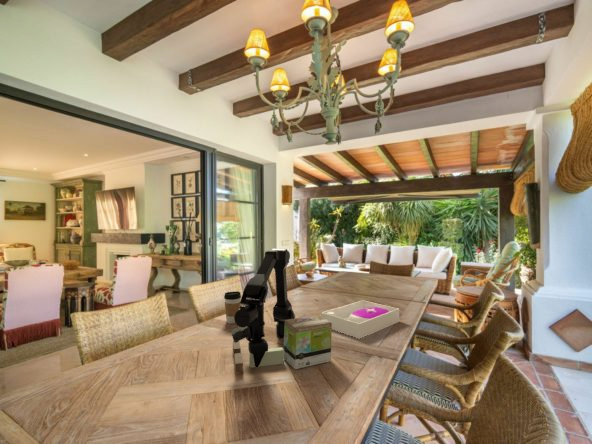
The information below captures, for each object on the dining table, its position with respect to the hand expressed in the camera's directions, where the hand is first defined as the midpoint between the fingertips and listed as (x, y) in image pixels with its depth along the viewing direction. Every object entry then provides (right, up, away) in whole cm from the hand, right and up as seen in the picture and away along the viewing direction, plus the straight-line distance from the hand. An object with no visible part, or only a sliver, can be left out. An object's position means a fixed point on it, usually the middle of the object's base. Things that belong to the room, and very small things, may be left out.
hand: (255, 361), depth 106 cm
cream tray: (+47, -2, +44) cm, 65 cm away
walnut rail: (-7, -1, +3) cm, 8 cm away
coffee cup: (-18, -1, +46) cm, 49 cm away
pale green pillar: (+4, -1, +1) cm, 4 cm away
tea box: (+19, -2, +4) cm, 19 cm away
